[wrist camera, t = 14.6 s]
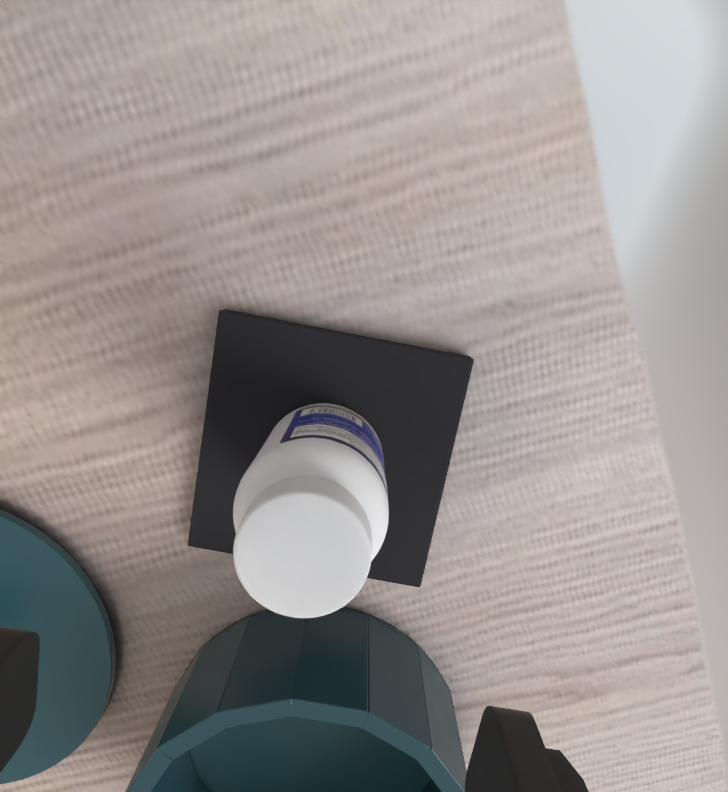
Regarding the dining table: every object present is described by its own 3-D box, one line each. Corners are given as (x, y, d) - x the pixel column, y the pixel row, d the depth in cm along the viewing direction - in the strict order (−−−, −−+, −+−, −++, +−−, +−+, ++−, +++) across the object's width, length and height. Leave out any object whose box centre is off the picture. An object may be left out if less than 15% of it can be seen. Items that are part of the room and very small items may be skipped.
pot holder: (223, 309, 23) (218, 310, 23) (471, 356, 24) (474, 359, 23) (192, 538, 26) (187, 546, 25) (418, 578, 26) (420, 588, 25)
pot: (191, 580, 26) (136, 672, 20) (485, 632, 27) (519, 737, 20) (158, 820, 29) (101, 965, 23) (422, 863, 30) (436, 1016, 24)
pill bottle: (320, 535, 25) (294, 673, 16) (241, 453, 24) (168, 551, 15) (409, 463, 24) (431, 566, 15) (329, 375, 23) (306, 432, 15)
